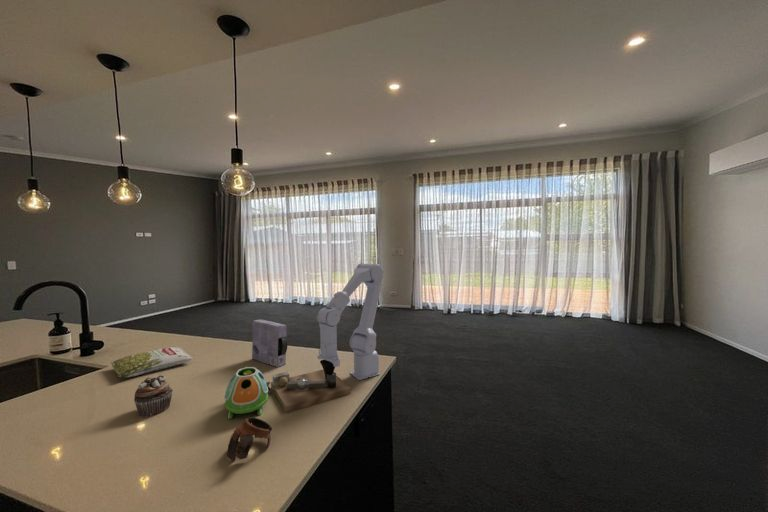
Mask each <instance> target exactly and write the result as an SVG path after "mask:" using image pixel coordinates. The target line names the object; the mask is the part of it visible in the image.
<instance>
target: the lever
mask: <svg viewBox="0 0 768 512" xmlns="http://www.w3.org/2000/svg"><path fill="white" fill-rule="evenodd" d="M336 375H337V373H336V372H335V371H334V372H329V373H327V381H310V382H308V379H307V378H306V377H301V378H298V379H297V381H288V383H287V389H299V390H303V389H306V388H323V387H328V388H334V387H336Z"/></svg>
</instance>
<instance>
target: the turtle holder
mask: <svg viewBox="0 0 768 512" xmlns="http://www.w3.org/2000/svg"><path fill="white" fill-rule="evenodd" d="M266 382H267V381H266V378H265V376H264V375H263V373H262V371H260V370H259V369H257V368H256V367H254V366H245V367H242V368H239V369H237V371H236V372H235V373H234V375H232V377H231V379H230V380H229V382H228V384H227V386H226V390H225V394H224V401H225V402H224V406H225V409H226V410H227V411H228V414H227V418H228V420H229V419H230V420H231V419H233V417H234V416H235V415H234V414H236V415H237V414H247V413H251V412H254V411H256V410H257V411H256V414H257V415H258V416H261V415H262V413H263V406H264V405H265V404H266V403H267V402H268V399H269V394H268V393H269V392H268V391H269V390H268V387H267V383H266ZM267 392H268V393H267Z"/></svg>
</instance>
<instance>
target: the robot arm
mask: <svg viewBox="0 0 768 512" xmlns="http://www.w3.org/2000/svg"><path fill="white" fill-rule="evenodd" d="M383 277H384V270H383V267H382V265H381V264H379V263H362V262H361V263H358V265H357V266H356V267H355V268H354V270H353V274H352V276H351V277H350V279H349V280H348V282H347V283H346V285H345V287H344V288H343V289H342V290H341V291H337V292H335V293H334V294H333V297H332V298H331V299H330V301H329V302H328V303H327V304H326V306H325V307H323V308H320V310H318V313H317V315H316V317H315V318H316V321H317V323H318V325H319V326H318V327H319V332H320V334H319V337H320V341H319V342H320V348H319V349H318V355H317V359H318V360H319V363H320V365H321V367H322V370H324V373H325V379H326V381H327V373H329V372H335V369H336V367H340V365H341V360H340V359H339V355H338V354H339V353H338V347H337V346H338V345H337V343H338V337H337V336H338V335H337V334H338V333H337V332H338V331H337V329H338V328H337V326H338V324H339V322H340V321H341V315H342V312H343V311H344V309H345V308H346V307H347V306H348V304H349V303H350V302H351V301H350V300H351V299H350V297H351V296H352V295H353V293H354V292H355V291H356V290H357V288H359V286H360V285H361V284H362V283H363V284H364V285H365V286H366V294H365V299H364V302H363V307H362V311H361V315H360V316H361V317H360V320H359V324H358V326H357V327H356V328H355V329H353V333H352V335H351V336H350V338H349V346H350V347H349V348H351V349H352V352H353V370H352V371H350V372H349V374H350V375H351V376H352V377H354V378H355V379H357V380H358V381H361V380H364V379H368V377H369V378H372V377H376V376H378V375H381V373H380V372H379V371H380V367H379V366H380V365H379V363H380V362H379V361H380V360H379V354H378V352H377V350H376V348H377V333H376V332H375V331H374V329H373V327H374V323H375V318H376V314H377V308H378V306H379V305H378V304H379V300H380V293H381V290H382V280H383Z"/></svg>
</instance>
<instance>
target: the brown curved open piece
mask: <svg viewBox="0 0 768 512" xmlns="http://www.w3.org/2000/svg"><path fill="white" fill-rule="evenodd" d="M272 430H273V427H272V426H271V424H269V423H267V422H266V421H264V420H263V419H260V418H258V417H253V416H252V417H251V416H250V417H249V416H248V417H246V418H245V419H244V421H243V423H241V424H240V425H238V426H237V427H236V428H235V430H234V431H233V433H232V434H231V436H230V439H229V442H228V448H227V452H226V456H227V458H228V459H229V460H231V462H236V458H237V459H238V460H245V459H247V458H248V455H249V452H250V450H251V448H252V446H253V444H254V439H256V438H257V439H258V438H259V439H267V441H266V442H267V443H266V449H268V448H269V447H270V445H271V439H272V438H271V432H272ZM253 436H254V437H253Z"/></svg>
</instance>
